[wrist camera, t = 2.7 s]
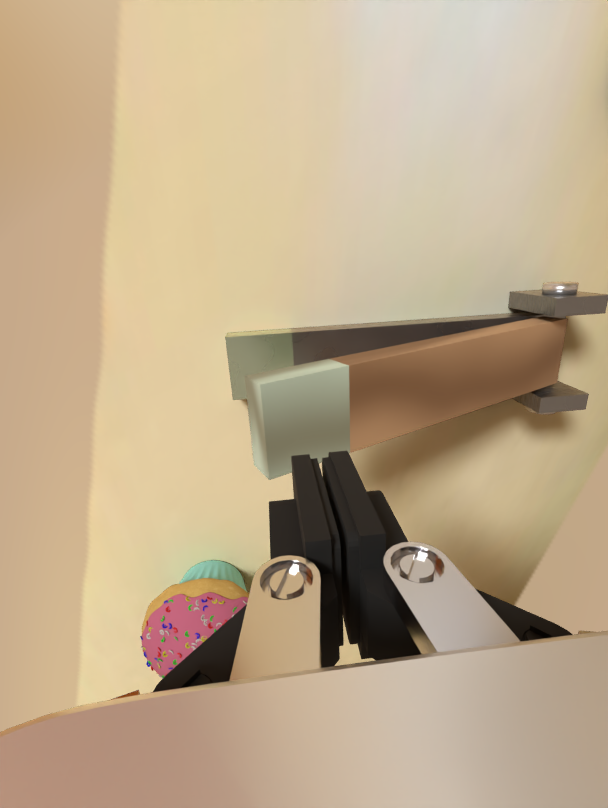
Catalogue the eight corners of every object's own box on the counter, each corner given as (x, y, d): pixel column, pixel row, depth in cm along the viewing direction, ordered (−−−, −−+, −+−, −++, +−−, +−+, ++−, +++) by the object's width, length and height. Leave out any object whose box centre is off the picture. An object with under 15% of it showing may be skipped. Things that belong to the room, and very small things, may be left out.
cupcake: (250, 529, 31) (241, 685, 19) (278, 609, 34) (285, 785, 22) (141, 557, 31) (70, 730, 19) (179, 635, 34) (137, 824, 22)
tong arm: (244, 375, 16) (259, 384, 15) (542, 316, 25) (567, 318, 24) (254, 464, 17) (269, 480, 16) (533, 377, 26) (556, 382, 25)
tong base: (223, 300, 25) (215, 309, 21) (555, 279, 26) (611, 283, 22) (237, 420, 28) (233, 449, 23) (537, 395, 29) (583, 418, 25)
